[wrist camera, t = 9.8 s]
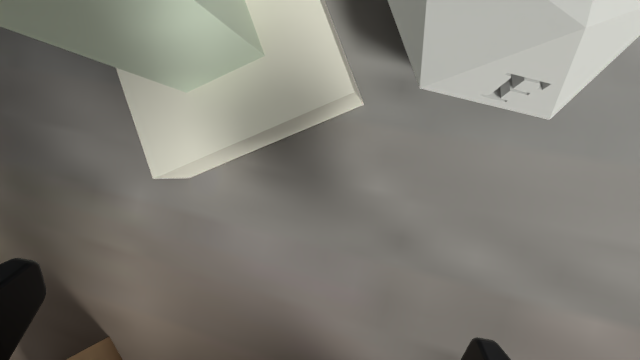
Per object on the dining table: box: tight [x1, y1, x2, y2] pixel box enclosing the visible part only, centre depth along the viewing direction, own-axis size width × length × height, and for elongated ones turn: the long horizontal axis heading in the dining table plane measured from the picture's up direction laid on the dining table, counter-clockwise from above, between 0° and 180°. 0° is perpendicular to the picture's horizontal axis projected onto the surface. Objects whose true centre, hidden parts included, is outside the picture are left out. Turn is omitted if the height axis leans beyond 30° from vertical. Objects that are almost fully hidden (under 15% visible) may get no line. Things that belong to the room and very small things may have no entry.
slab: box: [116, 0, 364, 179], centre depth 19 cm, size 10×10×3 cm
